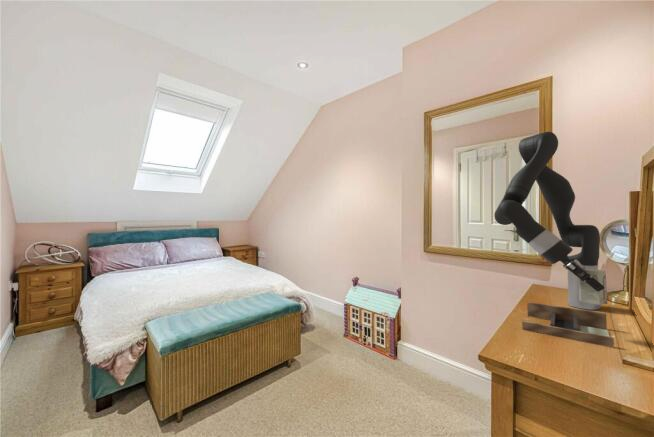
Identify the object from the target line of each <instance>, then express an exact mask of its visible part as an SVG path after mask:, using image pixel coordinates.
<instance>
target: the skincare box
mask: <svg viewBox="0 0 654 437" xmlns="http://www.w3.org/2000/svg"><path fill="white" fill-rule="evenodd" d="M587 273H589V274H590V275H592V277H593V278H594V279H596V280H597V281H598V282H599V283H601V284H602V285H603V286H604V287H605V288H604V289H603V290H601V291H599V292H598V291H596V290H595V289H594V288H592V287H591V286H590V285H589V284H588V283H586V282H584V281H581V280H580V278H579V298H580V301H582V302H587V303H592V304H597V305H601V306H602V305H606V304H608V295H607V294H608V289H607V272H606V270H604V269H603V270H602V269H598V270H595V269H587ZM583 275H585V273H583V274H581V277H582V276H583Z"/></svg>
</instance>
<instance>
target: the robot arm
mask: <svg viewBox="0 0 654 437" xmlns="http://www.w3.org/2000/svg"><path fill="white" fill-rule="evenodd" d="M558 147H559V140H558V137H557V135H556V133H554V132H552V131H545V132H544V131H543V132H541V133H537V134H534V135H531V136H527V137H524V138H522V139H521V140H520V141H519V144H518V152H519V155H520V156H521V158H522V160H523V161H524V163H525V165H524V166H523V167H522V168H520V170H518V171H517V172H516V173H515V174H514V176H513V177H512V179H511V180H510V182H509V184H508V186H507V189H506V190H505V192H504V195H503V198H502V199H501V201H500V203H499V204H498V206H497V208H496V210H495V212H494V214H493V215H494V219H495V221H496V222H497V223H498V224H500V225H502V226H508V225H511V224H512V225H513V226H514V227H516V229H515V233H516V234H517V235H518V236H519V237H520V238H521V239H522V240H523V241H525V243H527V244H528V245H529V246H530V247H531V249H533V251H535V252H536V253H538V254H539V255H540V256H541V257H543V258H544V259H545V260H546V261H547V262H548V263H550V264H551V265H556V264H557V263H558V262H561V263H562V264H563V268H564V269H565V270H566V271H567V298H568V299H567V300H568V304H567V305H569V306H571V307H572V308H575V309H580V310H588V311H595V310H600V309H602V305H597V304H592V303H587V302H582V301H580V298H579V278H580V280H581V281H584V282H586V283H588V284H589V285H590V286H591V287H592V288H594V289H595V290H596V291H598V292H599V291H601V290H603V289H604V288H605V287H604V286H603V285H602V284H601V283H599V282H598V281H597V280H596V279H594V278H593V277H592V275H590V274H589V273H587V269H595V270H599V259H600V247H601V244H600V242H601V234H600V231H599V229H598V227H597V226H595V225H593V224H574V222H572V219H571V211H572V208H573V206H574V204H575V201H576V195H575V192H574V189H573V187H572V185H571V183H570V182H569V180H568V179H567V178H566V177H564V176H563V175H561V174H560V173H558V172H556V171H555V170H553V169H552V168H550V167H549V166H548V165H547V164H548V163H549V162H550V160H551V159H552V158H553V157H554V156H555V153H556V152H557V150H558ZM535 182H536V183H537V186H538V187H539V189H540V192H541V195H542V196H543V198H544V201H545V202H546V205H547V206H548V208H549V210H550V213H551V214H552V217H553V219H554V221H555V225H556V227H557V231H558V233H559V237H558V236H557V235H556V234H555V233H553V232H551V231H549V230H548V229H546V228H545V227H544V226H543V225H541V224H540V223H539V222H537V221H536V220H535V219H534V218H533V216H532V214H530V212H529V211H528V210H527V209H526V208H525V207H524V206H523V204H524V202H525V201H526V200H527V198H528V197H529V195H530V192H531V190H532V189H533V188H532V187H533V186H534V183H535ZM573 248H581V250H580V252H579V253H576V254H573V255H570V254H571V253H572V252H573ZM583 273H585V275H583V276H582V277H581V274H583Z"/></svg>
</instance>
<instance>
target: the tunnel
mask: <svg viewBox="0 0 654 437" xmlns="http://www.w3.org/2000/svg"><path fill="white" fill-rule="evenodd" d="M526 306H527V317H530V316H532V318H535V319H542V320H548V321H550V323H549V324H541V323H537V322H531V321H525V320H522V322H521V323H522V326H521V327H522V328H521V329H522V330H523V329H524V330H525V331H529V332H535V333H539V334H545V335H549V336H553V337H559V338H563V339H569V340H573V341H574V340H575V341H578V342H584V343H589V344H594V345H600V346H604V347H609V348H614V340H615V339H614V337H613V336H610V333H609V330H608V329H607V328H608V327H607V326H608V325H607V321H608V319H607V313H606V312H600V311H595V310H588V309H581V308H575V307H572V308H571V307H564V306H558V305H552V304H545V303H537V302H532V301H531V302H530V301H527V305H526Z"/></svg>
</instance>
